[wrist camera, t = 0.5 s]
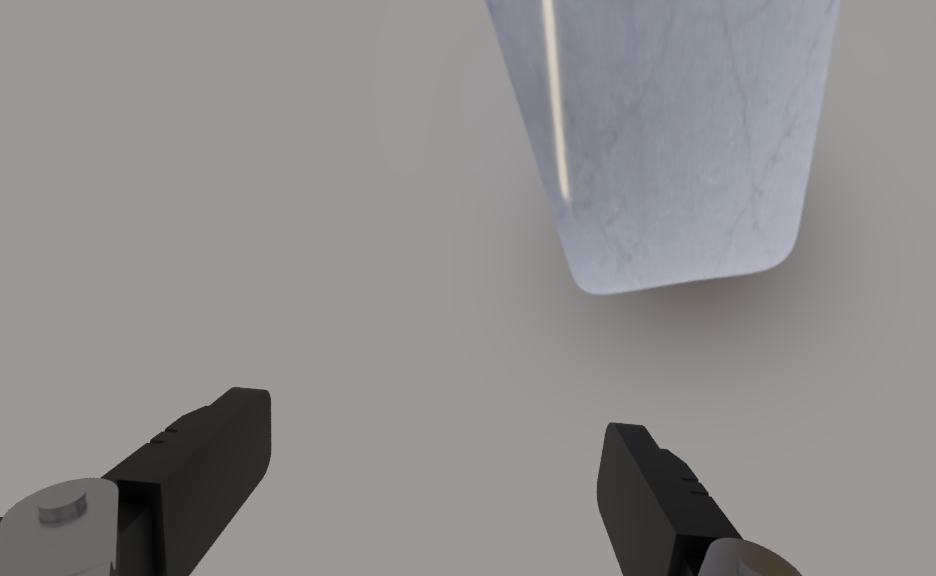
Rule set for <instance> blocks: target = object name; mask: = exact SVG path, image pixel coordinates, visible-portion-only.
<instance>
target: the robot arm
mask: <svg viewBox="0 0 936 576" xmlns="http://www.w3.org/2000/svg"><path fill="white" fill-rule="evenodd" d="M270 457H271V398H270V394H269V392H268V391H267V390H261V389H251V388H240V387H233V388H231V389H230V390H228V391H227V392H226V393H225V394H223V395H222V396H221V397H220V398H218V399H217V400H216V401H215V402H213V403H212V404H211V405H210V406H204V407H202V408H200V409H197V410H195V411H193V412H190V413H188V414H186V415H183V416H182V417H180V418H179V419H178V420H176V421H175V422H174V423H172V424H171V425H170V426H168V427H167V428H166V429H165V431H164V432H161V433H159V434H158V435H156V436H155V437H154V438H152V439H151V441H150V443H146V444H145V445H143V446H142V447H141V448H139V449H138V450H137V451H135V452H134V453H133V454H131V455H130V456H129V457H127V458H126V459H125V460H123V461H122V462H121V463H120V464H118V465H117V466H116V467H114V468H113V469H112V470H110V471H109V472H108V473H106V474H105V475H104V476H103V477H101V478H84V479H76V480H72V481H67V482H63V483H59V484H56V485H53V486H50V487H47V488H45V489H42V490H40V491H38V492H36V493H34V494H32V495H30V496H28V497H26V498H25V499H23V500H21V501H20V502H18V503H17V504H15V505H14V506H13V507H12V508H11V509H10V510H9V511H8V512H7V513H6V514H5V515H4V517H0V576H189V575H190V574H191V572H192V571H193V569H194V568H195V567H196V566H197V565H198V563H199V562H200V561H201V559H202V558H203V556H204V555H205V554H206V553H207V551H208V550H209V548H210V547H211V546H212V545H213V543H214V542H215V541H216V539H217V538H218V537H219V535H220V534H221V533H222V531H223V530H224V529H225V527H226V526H227V525H228V523H229V522H230V521H231V519H232V518H233V517H234V516H235V514H236V513H237V512H238V510H239V509H240V508H241V506H242V505H243V503H244V502H245V501H246V500H247V498H248V497H249V496H250V494H251V493H252V492H253V490H254V489H255V488H256V486H257V485H258V484H259V482H260V481H261V480H262V478H263V477H264V475H265V473H266V471H267V468H268V465H269V461H270ZM708 494H709V493H708V492H707V491H706V489H705V488H704V486H703V485H702V484H701V483H699V482H698V478H697V477H696V476H695V474H694V473H693V472H692V470H691V469H690V468H689V466H688V465H687V464H686V463H685V462H683V461H682V460H681V459H680V458H678V457H677V456H675V455H674V454H673V453H671V452H670V451H669V450H667V449H660V448H659V447H658V445H657V444H656V442H655V441H654V439H653V438H652V437H651V435H650V434H649V432H648V431H647V429H646V428H645V427H644V426H643V425H634V424H623V423H609V424H608V426H607V429H606V433H605V439H604V445H603V450H602V457H601V463H600V468H599V475H598V481H597V501H598V507H599V511H600V514H601V517H602V519H603V522H604V525H605V527H606V530H607V533H608V536H609V538H610V541H611V544H612V546H613V549H614V552H615V554H616V557H617V560H618V563H619V565H620V568H621V571H622V573H623V576H802V575H801V574H800V573H799V572H798V571H797V569H796V568H795V567H793V566H792V565H791V564H790V563H789V562H787V561H786V560H785V559H783V558H782V557H781V556H779V555H777V554H776V553H774V552H772V551H770V550H769V549H767V548H765V547H763V546H760V545H758V544H756V543H753V542H750V541H747V540H743V538H742V537H741V536H740V534H739V533H738V532H737V530H736V529H735V528H734V526H733V525H732V524H731V523H730V521H729V520H728V518H727V517H726V516H725V514H724V513H723V512H722V510H721V509H720V508H719V506H718V505H717V504H716V502H715V501H714V500H713V498H712V497H709V495H708Z"/></svg>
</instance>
